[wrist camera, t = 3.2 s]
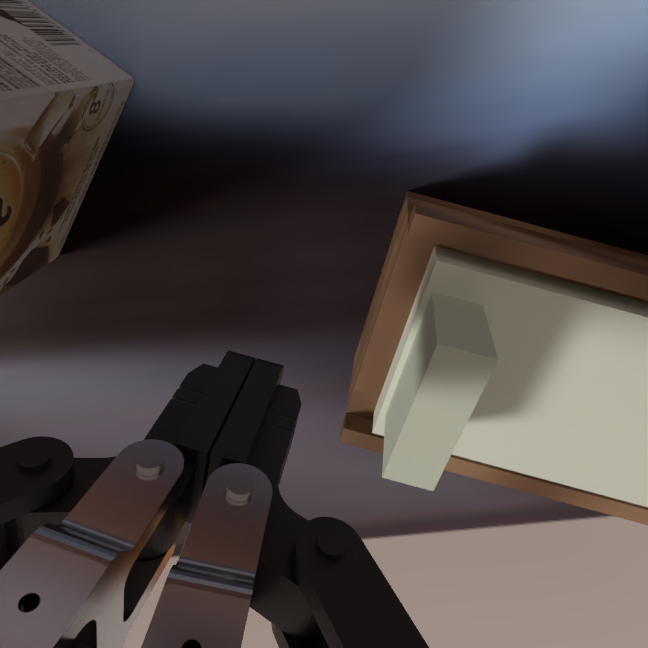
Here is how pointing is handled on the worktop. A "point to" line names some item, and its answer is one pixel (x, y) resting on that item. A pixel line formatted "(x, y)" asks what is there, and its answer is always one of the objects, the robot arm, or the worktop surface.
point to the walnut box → (498, 246)
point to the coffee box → (48, 133)
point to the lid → (518, 380)
